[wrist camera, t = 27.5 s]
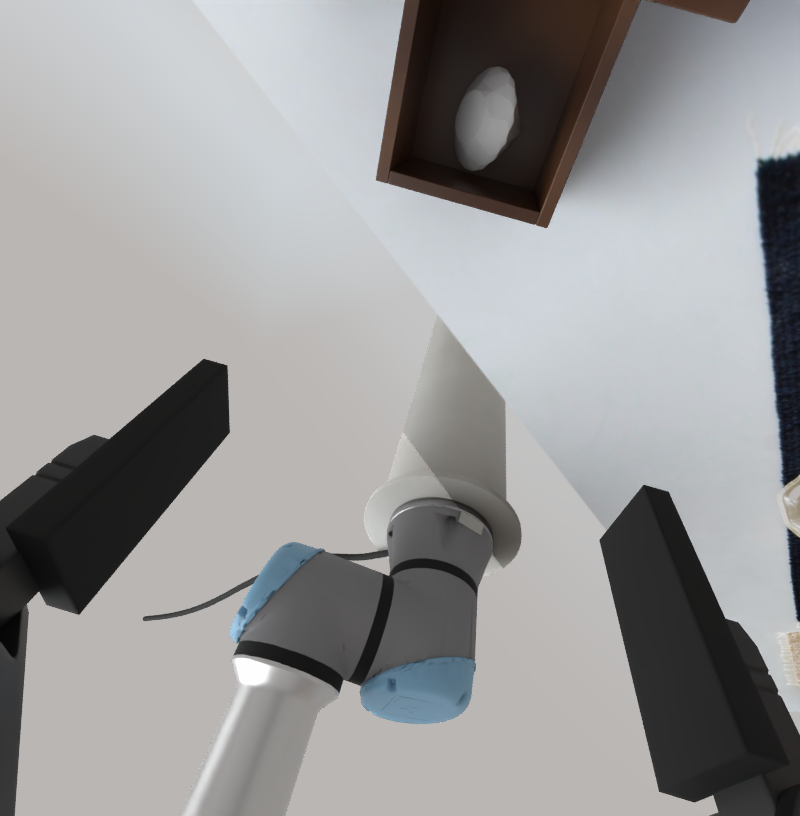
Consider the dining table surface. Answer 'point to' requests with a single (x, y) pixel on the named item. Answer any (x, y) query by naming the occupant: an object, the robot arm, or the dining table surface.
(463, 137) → the grey rounded piece
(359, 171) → the dining table surface
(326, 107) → the dining table surface
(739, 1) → the lid
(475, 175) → the chest
